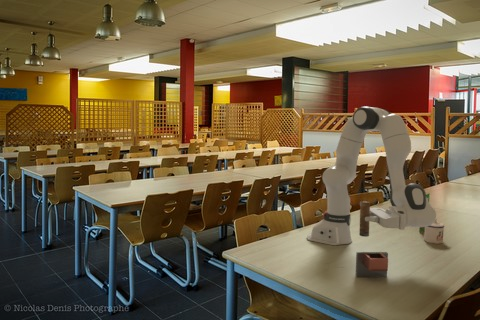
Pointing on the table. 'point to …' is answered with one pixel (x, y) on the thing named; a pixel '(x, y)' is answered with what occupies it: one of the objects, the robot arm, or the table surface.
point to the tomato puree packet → (424, 227)
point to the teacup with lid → (434, 233)
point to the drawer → (371, 264)
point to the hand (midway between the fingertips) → (362, 217)
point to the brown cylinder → (363, 212)
